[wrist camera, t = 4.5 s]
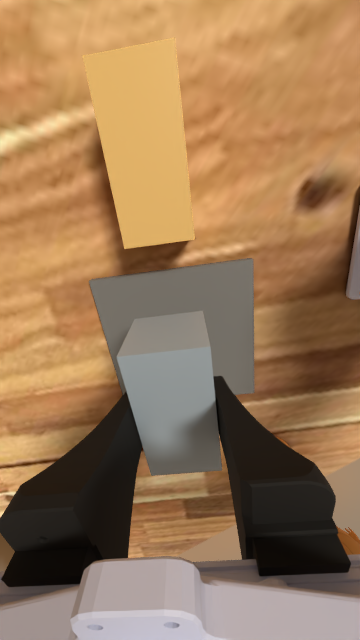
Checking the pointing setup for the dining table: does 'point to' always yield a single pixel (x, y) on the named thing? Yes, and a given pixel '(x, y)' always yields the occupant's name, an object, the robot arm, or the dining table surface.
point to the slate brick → (172, 392)
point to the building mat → (188, 296)
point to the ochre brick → (143, 140)
